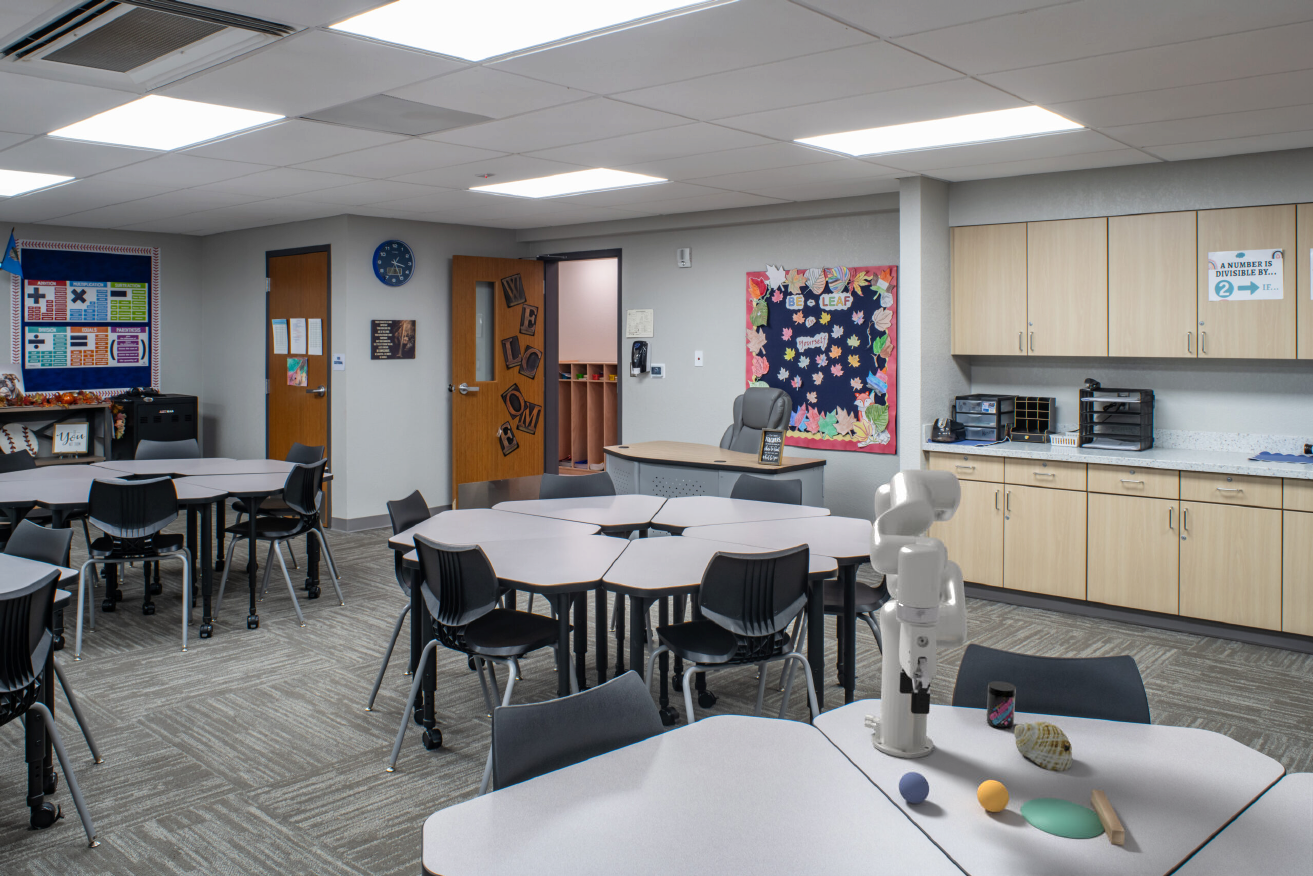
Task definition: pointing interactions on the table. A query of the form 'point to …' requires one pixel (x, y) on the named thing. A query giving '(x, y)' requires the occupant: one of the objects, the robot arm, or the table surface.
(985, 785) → the orange ball
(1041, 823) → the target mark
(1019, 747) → the seashell
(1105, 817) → the wall
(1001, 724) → the supplement container
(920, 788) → the slate blue ball
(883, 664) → the robot arm
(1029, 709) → the table surface
